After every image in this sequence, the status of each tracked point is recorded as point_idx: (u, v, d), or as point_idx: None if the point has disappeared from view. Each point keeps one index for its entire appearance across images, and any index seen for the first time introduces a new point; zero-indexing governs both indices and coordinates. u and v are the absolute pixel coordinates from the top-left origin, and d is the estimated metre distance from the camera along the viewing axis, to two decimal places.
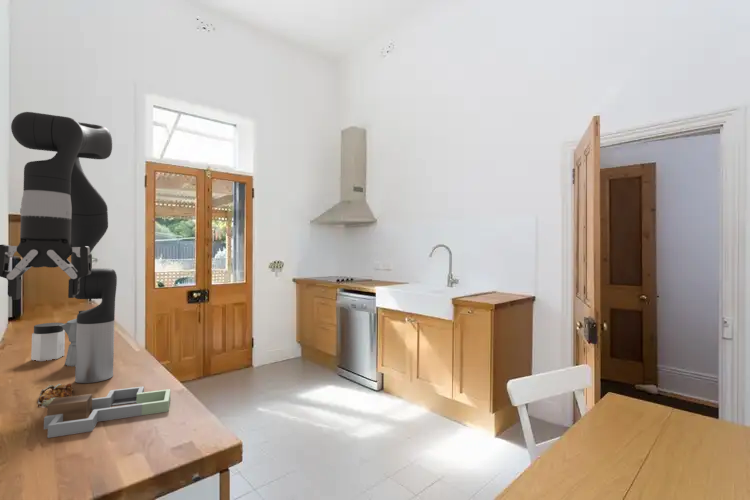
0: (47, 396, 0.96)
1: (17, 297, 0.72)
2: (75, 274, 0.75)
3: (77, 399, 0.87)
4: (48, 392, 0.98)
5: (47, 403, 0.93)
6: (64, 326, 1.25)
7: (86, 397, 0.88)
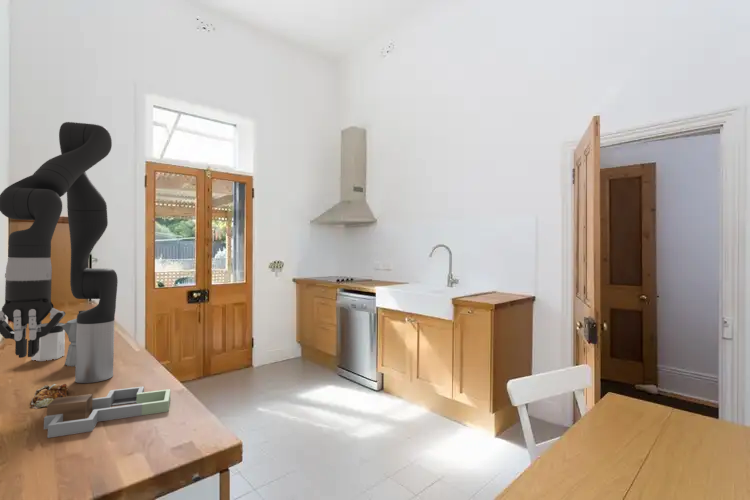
0: (41, 397, 0.96)
1: (23, 355, 0.83)
2: (35, 336, 0.83)
3: (77, 399, 0.87)
4: (42, 392, 0.98)
5: (40, 404, 0.93)
6: (64, 326, 1.25)
7: (86, 397, 0.88)
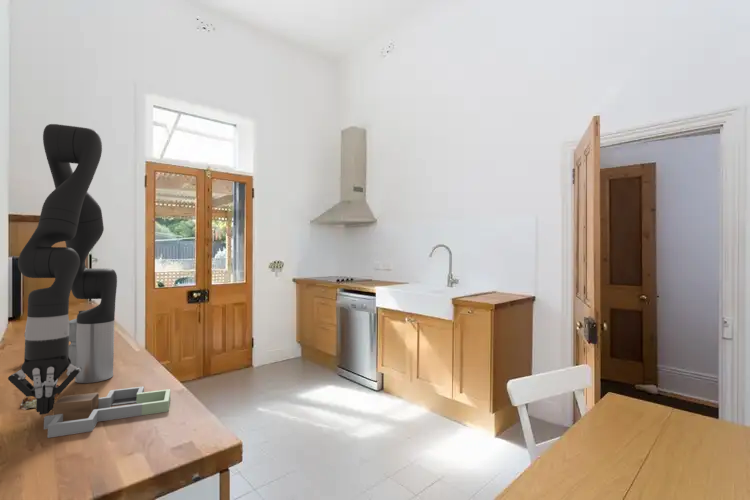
0: (31, 397, 0.95)
1: None
2: (51, 394, 0.84)
3: (83, 398, 0.87)
4: None
5: (28, 405, 0.92)
6: None
7: (92, 396, 0.88)
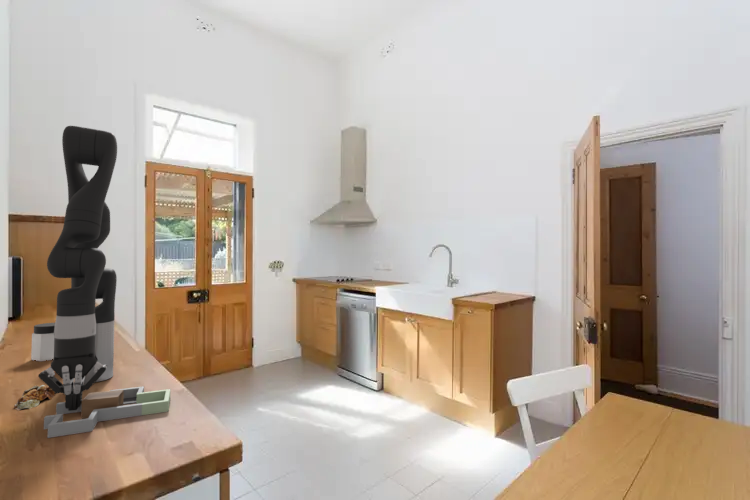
0: (26, 398, 0.95)
1: None
2: (79, 391, 0.86)
3: (109, 395, 0.89)
4: (29, 393, 0.97)
5: (22, 405, 0.92)
6: None
7: (118, 393, 0.90)
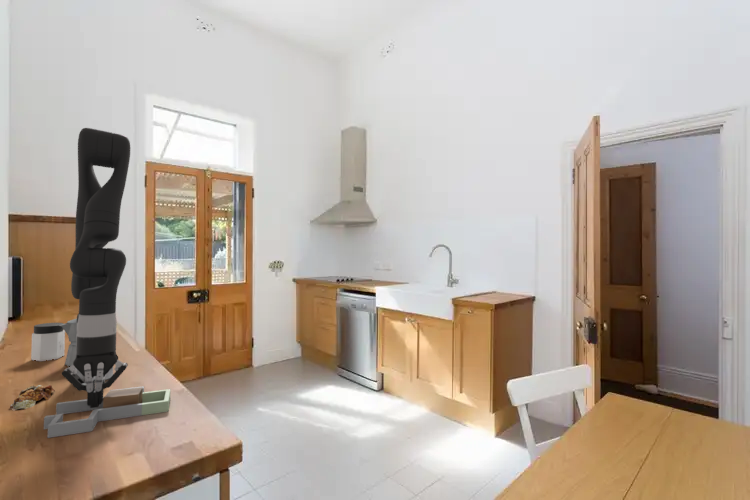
0: (22, 398, 0.95)
1: None
2: (100, 388, 0.88)
3: (129, 392, 0.91)
4: (26, 393, 0.97)
5: (18, 405, 0.92)
6: (64, 326, 1.25)
7: (137, 390, 0.92)
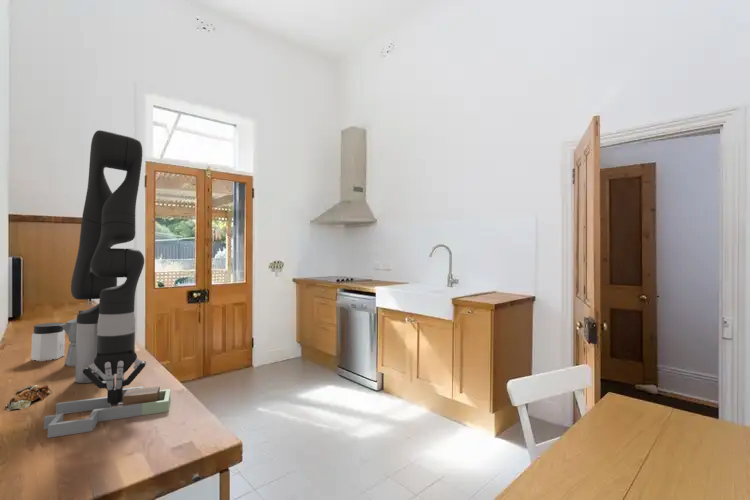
0: (18, 398, 0.94)
1: None
2: (120, 386, 0.90)
3: (148, 391, 0.93)
4: (22, 393, 0.97)
5: (13, 406, 0.91)
6: (64, 326, 1.25)
7: (155, 389, 0.94)
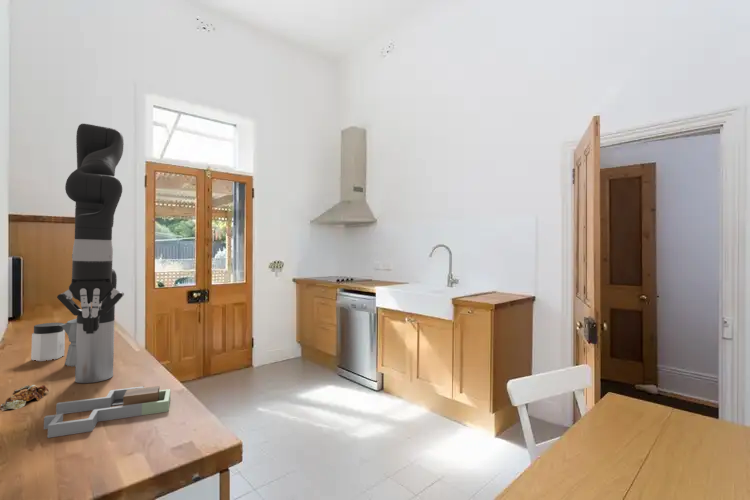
0: (14, 398, 0.94)
1: None
2: (96, 314, 0.88)
3: (148, 391, 0.93)
4: (18, 393, 0.97)
5: (8, 406, 0.91)
6: (64, 326, 1.25)
7: (155, 389, 0.94)
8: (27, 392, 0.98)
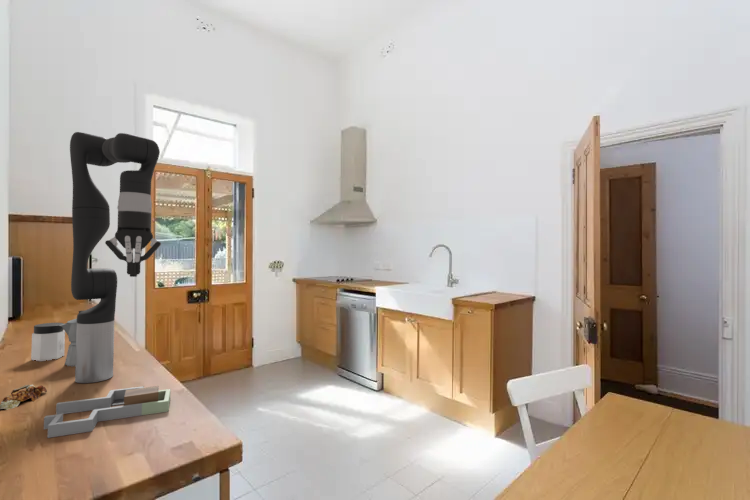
0: (9, 397, 0.95)
1: None
2: (138, 259, 0.99)
3: (148, 391, 0.93)
4: (16, 393, 0.97)
5: (1, 405, 0.91)
6: (64, 326, 1.25)
7: (155, 388, 0.94)
8: (24, 392, 0.98)
